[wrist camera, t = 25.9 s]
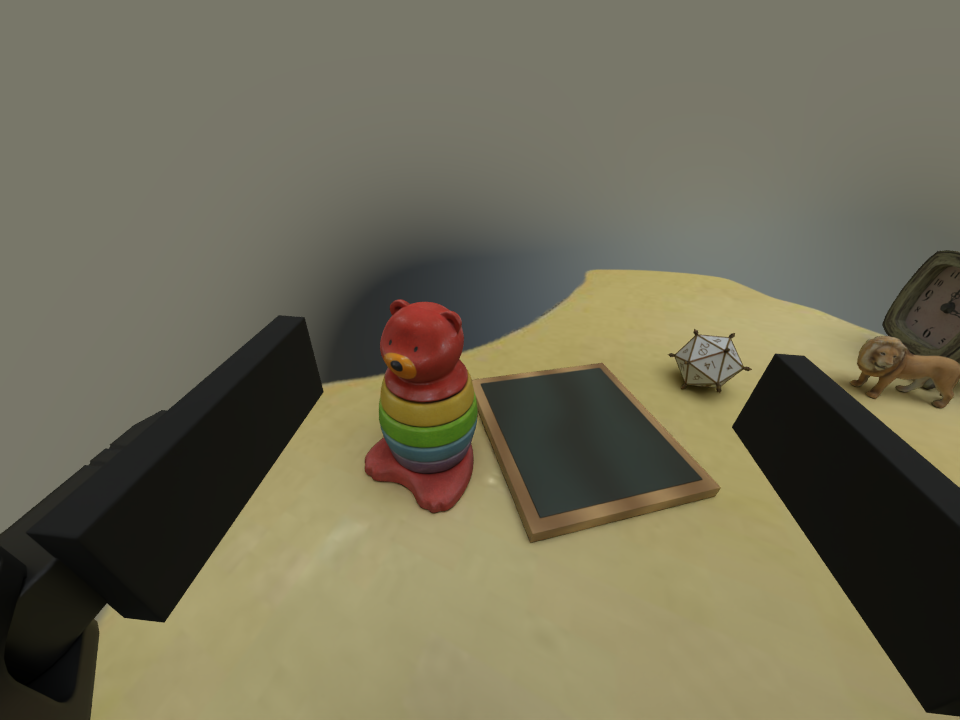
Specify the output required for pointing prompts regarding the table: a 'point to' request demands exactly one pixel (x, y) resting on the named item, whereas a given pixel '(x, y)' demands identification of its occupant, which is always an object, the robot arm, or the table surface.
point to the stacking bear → (425, 406)
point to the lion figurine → (905, 368)
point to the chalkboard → (583, 450)
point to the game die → (708, 361)
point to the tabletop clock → (929, 310)
